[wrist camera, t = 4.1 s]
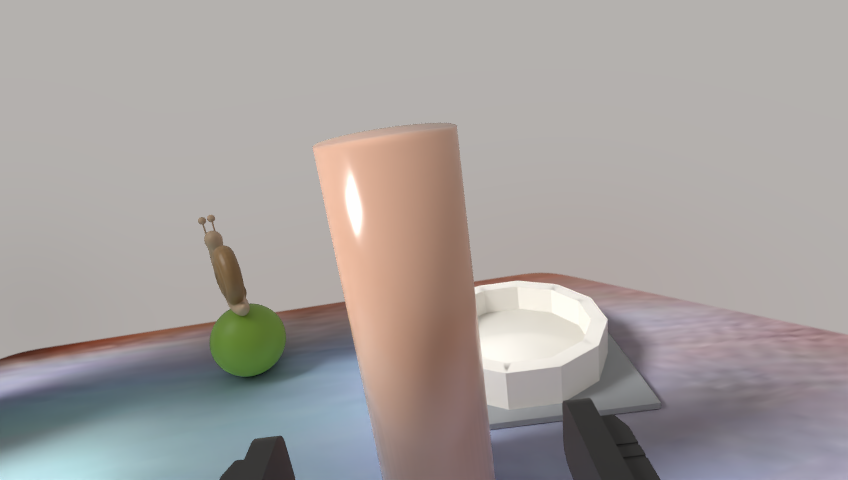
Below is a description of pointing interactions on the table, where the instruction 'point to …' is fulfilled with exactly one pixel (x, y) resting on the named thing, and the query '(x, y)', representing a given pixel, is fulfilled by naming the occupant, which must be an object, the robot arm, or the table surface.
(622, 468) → the robot arm
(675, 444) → the table surface
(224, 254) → the snail figurine
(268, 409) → the table surface
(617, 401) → the felt mat
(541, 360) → the ceramic dish
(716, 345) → the table surface
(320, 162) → the peach capsule cylinder
